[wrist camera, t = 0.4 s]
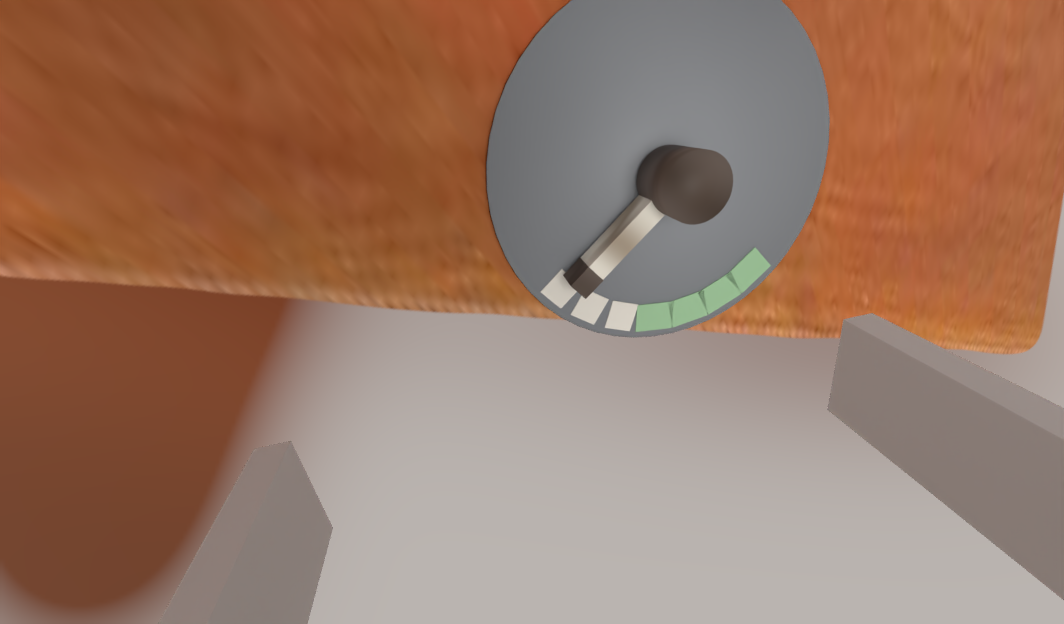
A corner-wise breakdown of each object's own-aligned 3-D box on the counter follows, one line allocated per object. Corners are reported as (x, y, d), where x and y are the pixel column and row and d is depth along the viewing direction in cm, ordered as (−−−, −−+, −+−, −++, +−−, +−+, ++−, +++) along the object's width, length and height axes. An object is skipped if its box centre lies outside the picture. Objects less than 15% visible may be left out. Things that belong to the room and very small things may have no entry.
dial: (426, 38, 30) (426, 36, 29) (820, -96, 31) (827, -99, 30) (546, 376, 42) (547, 379, 41) (827, 274, 43) (832, 276, 42)
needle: (670, 129, 34) (704, 132, 30) (709, 175, 36) (746, 184, 32) (548, 262, 37) (562, 284, 32) (590, 299, 39) (609, 324, 34)
